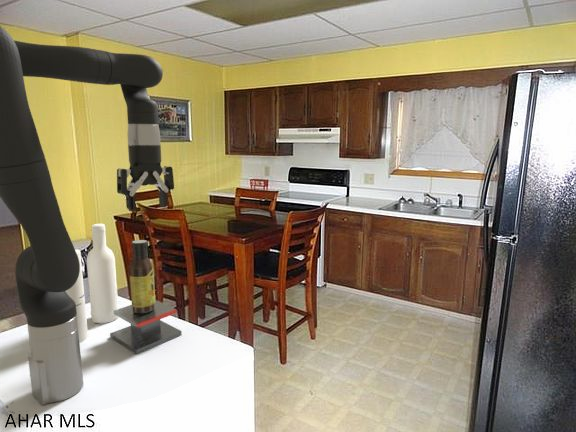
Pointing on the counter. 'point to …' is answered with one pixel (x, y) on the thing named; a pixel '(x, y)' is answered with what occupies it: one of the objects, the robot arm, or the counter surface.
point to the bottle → (102, 278)
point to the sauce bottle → (141, 279)
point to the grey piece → (145, 328)
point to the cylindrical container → (79, 302)
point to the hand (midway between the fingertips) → (148, 209)
